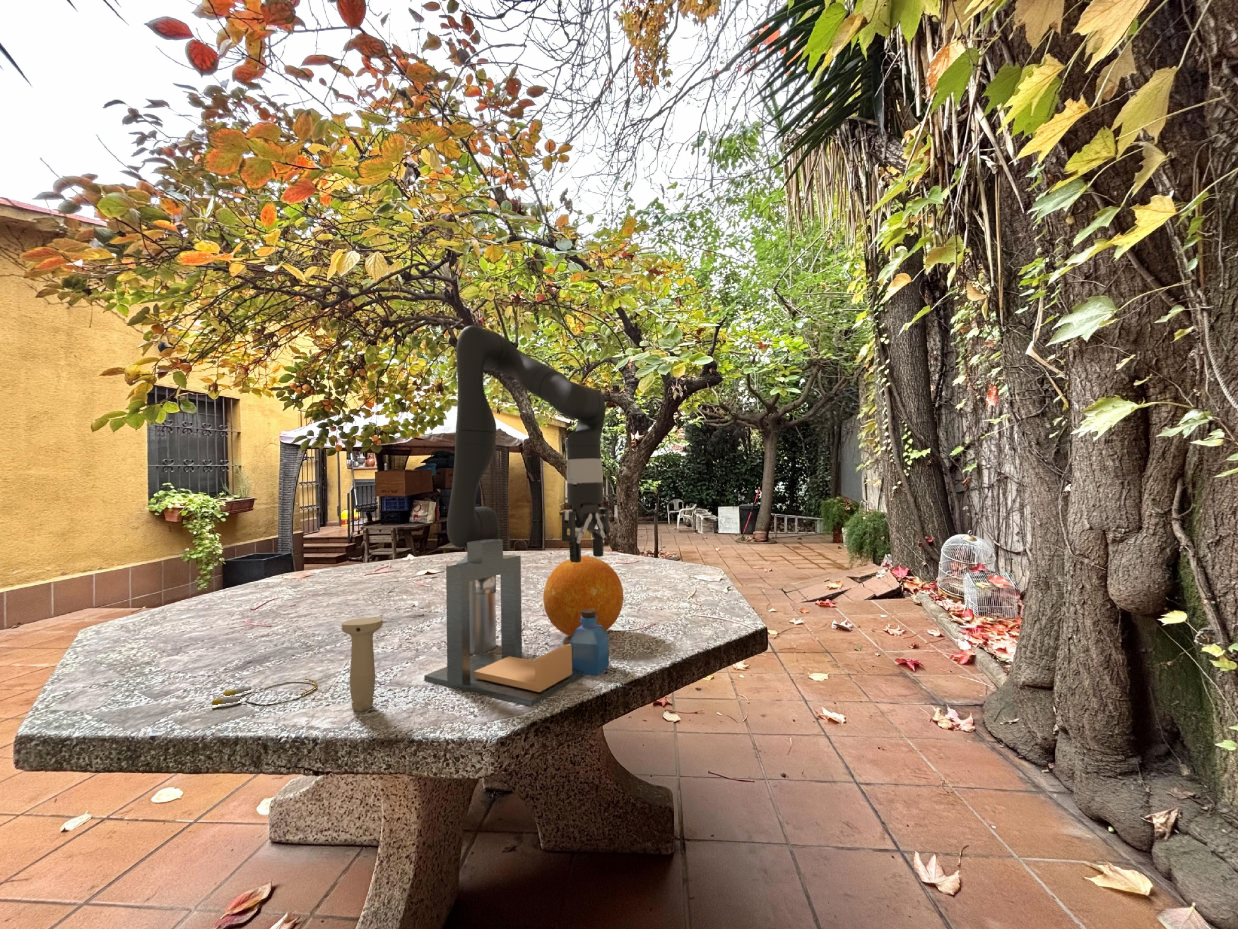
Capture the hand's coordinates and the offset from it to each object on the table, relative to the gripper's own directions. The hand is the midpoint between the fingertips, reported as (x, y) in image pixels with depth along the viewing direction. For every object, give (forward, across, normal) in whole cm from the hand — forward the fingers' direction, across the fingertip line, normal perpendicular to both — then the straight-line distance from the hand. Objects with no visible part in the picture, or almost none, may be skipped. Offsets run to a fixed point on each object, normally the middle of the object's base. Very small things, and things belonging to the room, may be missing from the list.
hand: (587, 559), depth 110 cm
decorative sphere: (+22, -19, -14) cm, 33 cm away
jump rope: (+23, +38, -47) cm, 65 cm away
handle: (+22, +34, -25) cm, 48 cm away
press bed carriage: (+21, +12, -8) cm, 25 cm away
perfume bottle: (+23, 0, 0) cm, 23 cm away
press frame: (+22, +12, -13) cm, 28 cm away
